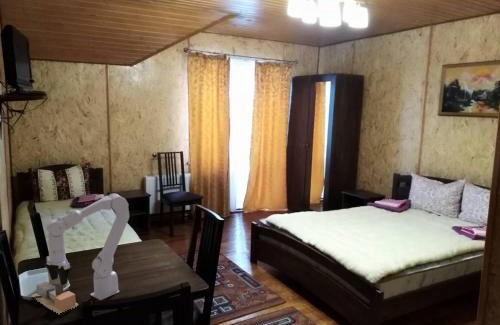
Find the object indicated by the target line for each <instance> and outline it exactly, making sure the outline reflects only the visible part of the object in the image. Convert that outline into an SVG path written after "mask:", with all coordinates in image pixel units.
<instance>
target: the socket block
mask: <svg viewBox="0 0 500 325" xmlns="http://www.w3.org/2000/svg"><path fill="white" fill-rule="evenodd" d="M63 292H64V293H62V294H59V295H57V296H54V302H55V308H57V309H58V310H60V311H63V310H65V309H68V308H70V307H72V306H75V305H76V303H77V301H76V300H77V299H76V294H75V293H74V292H71V291H70V290H68V291H63Z"/></svg>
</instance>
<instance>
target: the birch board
mask: <svg viewBox="0 0 500 325" xmlns="http://www.w3.org/2000/svg"><path fill="white" fill-rule="evenodd" d="M31 296H37V293H34V294H31ZM36 300H37V301H36ZM36 300H35V301H36V302H38V303H39V302H40V304H41V305H42V304H43V306H44V307H45V308H47V309H49V310H51V311H52V310H53V313H55V312H56V314H57V313H58V314H57V315H61V314H60V313H62V312H64V313H66V312H68V311H67V310H69V309H71V310H73V309H75V307H76V308H77V306H78V307H79V303H77V302H76V305H75V306H72V307H70V308H68V309H65V310H63V311H60V310H58V309H57V308H55V302H54V300H52V299H51V298H50V299H47V300H46V299H44V298H36ZM72 308H73V309H72ZM65 311H66V312H65ZM69 311H70V310H69ZM62 314H63V313H62Z"/></svg>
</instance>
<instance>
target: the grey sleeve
mask: <svg viewBox="0 0 500 325" xmlns="http://www.w3.org/2000/svg"><path fill="white" fill-rule="evenodd" d="M52 289H54V290H55V284H50V283H49V281H44V282H42V283H39V284H37V285H36V294H37V295H41V296H42V298H44V299H46V300H47V299H50V298H49V297H47V291H49V290H52Z"/></svg>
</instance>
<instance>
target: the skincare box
mask: <svg viewBox="0 0 500 325" xmlns="http://www.w3.org/2000/svg"><path fill="white" fill-rule="evenodd" d="M47 262H48V261H47V260H46V263H47ZM59 268H61V266H59ZM59 268H58V269H59ZM47 276H48V278H47V279H48V283H50V284H52V285H56V284H58V283H60V278H59V275H58V278H57V279H55V280H52V279H51V277H50V274H49V271H48V270H47Z"/></svg>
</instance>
